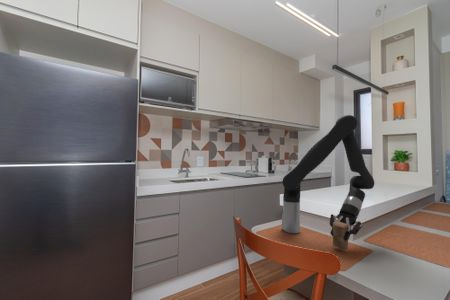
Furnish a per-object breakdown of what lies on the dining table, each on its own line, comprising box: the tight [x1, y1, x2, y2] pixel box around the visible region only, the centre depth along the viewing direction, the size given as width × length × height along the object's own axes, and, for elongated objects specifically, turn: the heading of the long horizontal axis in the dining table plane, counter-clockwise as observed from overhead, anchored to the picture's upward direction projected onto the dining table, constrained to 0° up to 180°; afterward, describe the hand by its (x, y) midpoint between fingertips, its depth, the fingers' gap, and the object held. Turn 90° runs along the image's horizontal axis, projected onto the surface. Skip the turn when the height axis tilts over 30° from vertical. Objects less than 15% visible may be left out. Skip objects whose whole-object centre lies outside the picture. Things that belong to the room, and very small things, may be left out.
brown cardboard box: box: [332, 220, 349, 251], centre depth 95 cm, size 5×4×11 cm
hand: (338, 237), depth 94 cm, fingers closed on brown cardboard box, 5 cm apart
